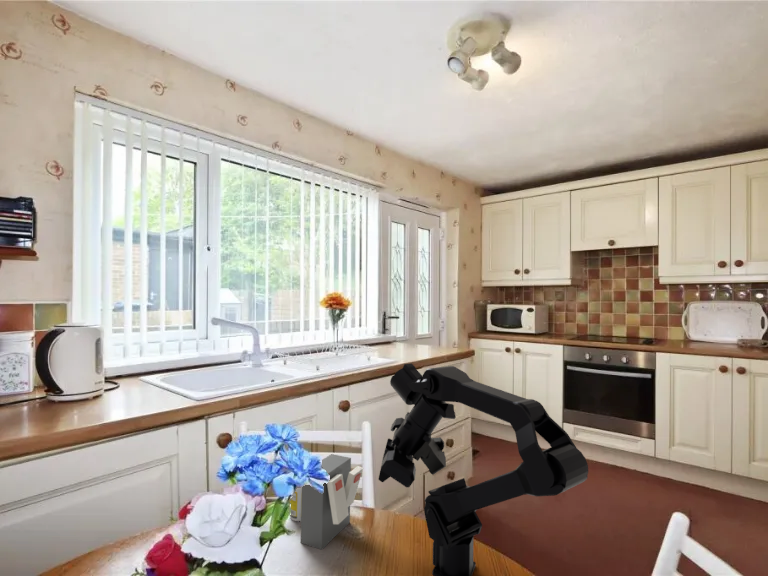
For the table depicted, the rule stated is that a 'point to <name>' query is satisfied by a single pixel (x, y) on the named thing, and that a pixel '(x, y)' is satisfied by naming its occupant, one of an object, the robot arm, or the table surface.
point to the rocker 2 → (352, 484)
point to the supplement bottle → (296, 505)
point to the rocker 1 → (337, 499)
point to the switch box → (322, 506)
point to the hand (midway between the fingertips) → (380, 480)
